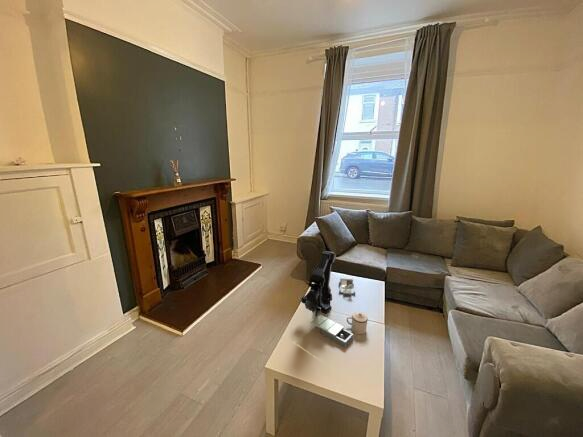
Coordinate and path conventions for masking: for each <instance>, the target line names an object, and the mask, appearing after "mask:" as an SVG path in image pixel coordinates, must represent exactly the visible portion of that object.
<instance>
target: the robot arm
mask: <svg viewBox="0 0 583 437" xmlns="http://www.w3.org/2000/svg"><path fill="white" fill-rule="evenodd" d="M336 258H337V254H336V253H335V252H334V251H329V250H325V251H322V253H321V257H320V261H319V263H318V265H317V268H316V269H314V270H313V272H312V273H311V274H310V278H309V282H308V287H309V288H310V289H309V290H308V292H307V293H306V294H305V295H304V296H302V297H301V299H300V302H301V303H302V304H304V306H305V309H306V310H308V311H309V312H312V313H311V314H313V312H314V311H315V310H316V317H317V316H319V315H320V312H321V313H323V314H324V315H328V314H329V313H330V312H331V311H332V310H333V309H332V305H331V301H333V294H332V293H331V292H332V290H331V287H330V281H331V272H332V265H333V263H335V260H336Z"/></svg>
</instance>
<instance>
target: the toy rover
mask: <svg viewBox="0 0 583 437" xmlns="http://www.w3.org/2000/svg"><path fill="white" fill-rule="evenodd" d="M354 285H355V283H354V279H353V278H347V277H346V278H345V277H340V278H339V282H338V287H339V291H338V294H339V295H342V294H343V295H350V296H354V297H355V296H356V291H354V287H355V286H354Z"/></svg>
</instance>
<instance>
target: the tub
mask: <svg viewBox="0 0 583 437" xmlns="http://www.w3.org/2000/svg"><path fill="white" fill-rule="evenodd" d="M320 334H321V335H322V336H324V337H326V338H328V339H329V340H331V341H332V342H335V343H336V344H337V345H338V346H339V345H340V347H343V348H344V349H345V348H346V347H347V346H348V345H349V344H350V343H351V342H352V341H353V340H354V336H355V335H354V333H352V332H350V331H349V330H347V329H345V328H343V329H342V330H341V331H340V332H339V333H338V334H337V335H336V336H333V335H332V334H330V333H328V332H326V331H324V330H323V329H321V328H320ZM339 334H343V335H344V339H341V338H339Z"/></svg>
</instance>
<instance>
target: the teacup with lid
mask: <svg viewBox="0 0 583 437" xmlns="http://www.w3.org/2000/svg"><path fill="white" fill-rule="evenodd" d="M349 319H350V320H351V322H350V321H349ZM368 321H369V319H368V316H367V315H366V314H365V313H364V312H361V311H357V312H354V313H352V315H351V316H348V317H347V318H346V322H347V324H348V325H350V327H351V328H350V329H351V331H352V332H354V333H355V334H358V335H364V334H365V333H366V332H367V327H368V326H367V324H368Z"/></svg>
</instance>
